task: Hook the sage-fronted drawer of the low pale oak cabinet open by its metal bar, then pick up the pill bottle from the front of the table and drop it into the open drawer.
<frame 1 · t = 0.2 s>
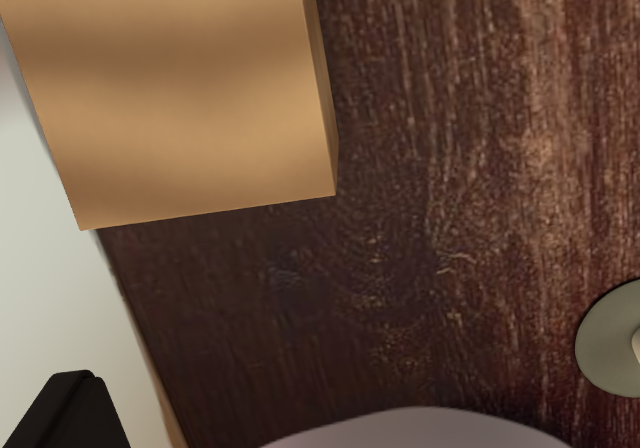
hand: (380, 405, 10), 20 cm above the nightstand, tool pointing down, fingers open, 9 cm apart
cabinet: (201, 20, 27), on the nightstand
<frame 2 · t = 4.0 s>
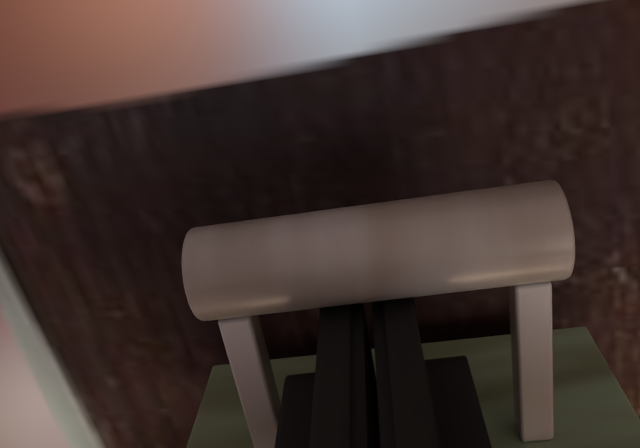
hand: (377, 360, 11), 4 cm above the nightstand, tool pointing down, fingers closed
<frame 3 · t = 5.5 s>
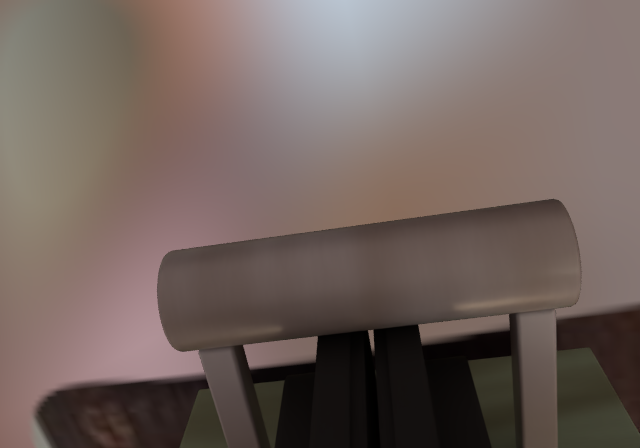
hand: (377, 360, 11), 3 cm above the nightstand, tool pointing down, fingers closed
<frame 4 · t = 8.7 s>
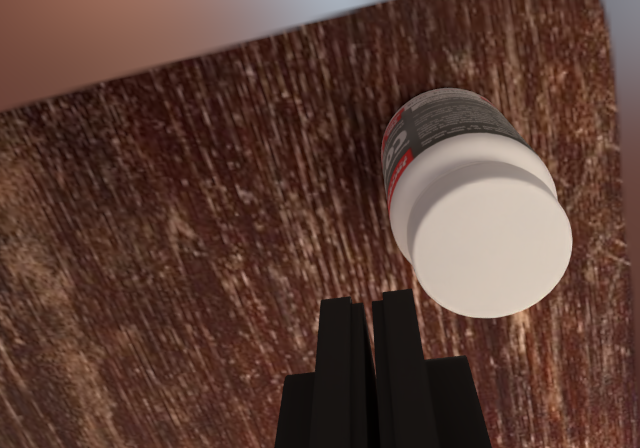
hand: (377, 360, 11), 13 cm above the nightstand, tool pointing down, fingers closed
pill bottle: (443, 147, 23), on the nightstand
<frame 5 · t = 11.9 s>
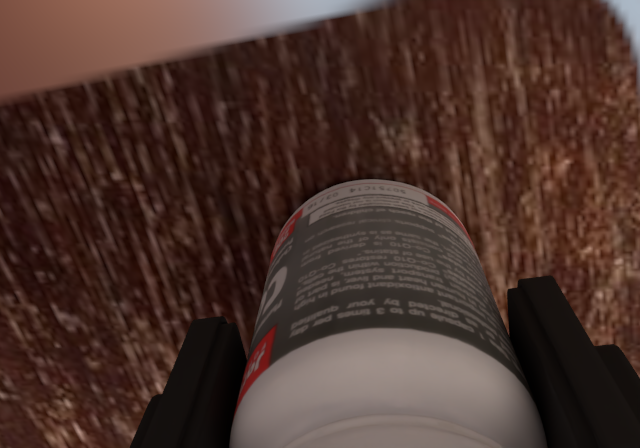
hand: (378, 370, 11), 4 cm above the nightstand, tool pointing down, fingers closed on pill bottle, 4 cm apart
pill bottle: (371, 263, 15), on the nightstand, touching gripper
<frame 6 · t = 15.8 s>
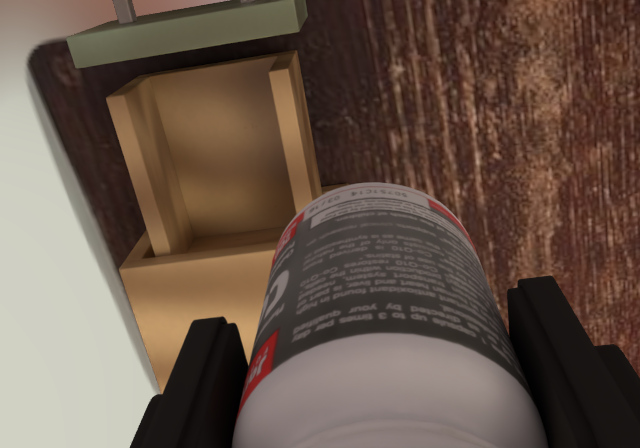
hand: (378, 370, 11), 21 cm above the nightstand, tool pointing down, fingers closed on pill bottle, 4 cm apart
cabinet: (276, 297, 35), on the nightstand
drawer: (210, 89, 26), point 3 cm above the nightstand, slide at 8.5 cm
pill bottle: (373, 266, 15), point 17 cm above the nightstand, touching gripper
when the fingers open (6 cm above the nightstand, at t = 20.0 s): pill bottle stays where it is, resting on drawer.
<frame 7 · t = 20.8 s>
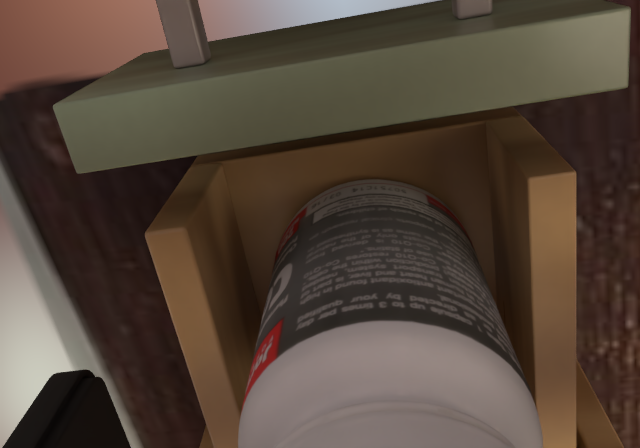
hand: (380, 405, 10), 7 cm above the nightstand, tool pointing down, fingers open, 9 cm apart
drawer: (356, 194, 13), point 3 cm above the nightstand, slide at 8.4 cm, touching pill bottle
pill bottle: (373, 261, 15), point 2 cm above the nightstand, touching drawer
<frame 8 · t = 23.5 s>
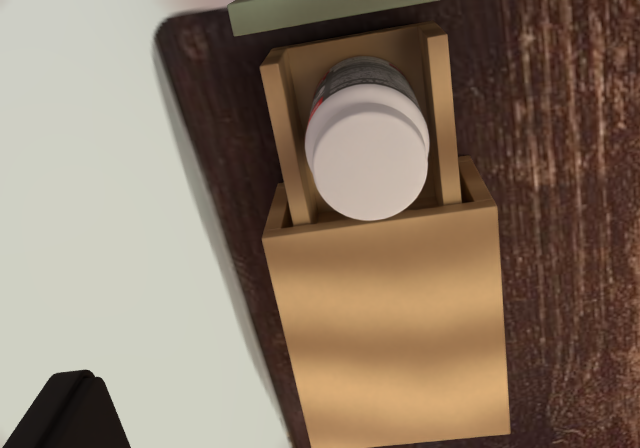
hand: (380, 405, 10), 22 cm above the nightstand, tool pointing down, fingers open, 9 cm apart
cabinet: (387, 273, 35), on the nightstand
drawer: (354, 59, 26), point 3 cm above the nightstand, slide at 8.4 cm, touching pill bottle
pill bottle: (363, 105, 29), point 2 cm above the nightstand, touching drawer
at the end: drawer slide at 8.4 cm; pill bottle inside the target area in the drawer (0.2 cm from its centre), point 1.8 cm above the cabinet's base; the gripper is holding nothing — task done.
